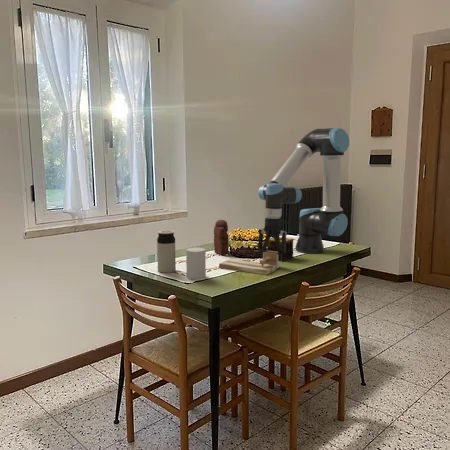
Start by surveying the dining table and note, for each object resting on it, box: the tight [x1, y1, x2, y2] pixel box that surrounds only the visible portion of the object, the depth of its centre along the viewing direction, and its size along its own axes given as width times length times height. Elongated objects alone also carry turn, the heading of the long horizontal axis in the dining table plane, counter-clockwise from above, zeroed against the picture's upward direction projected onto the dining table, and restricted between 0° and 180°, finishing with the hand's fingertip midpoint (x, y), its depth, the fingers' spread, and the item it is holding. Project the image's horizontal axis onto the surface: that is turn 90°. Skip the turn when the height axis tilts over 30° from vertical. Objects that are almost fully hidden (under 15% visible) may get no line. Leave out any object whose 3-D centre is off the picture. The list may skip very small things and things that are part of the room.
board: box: [218, 258, 278, 276], centre depth 209 cm, size 11×24×2 cm, turn 61°
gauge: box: [259, 250, 278, 267], centre depth 208 cm, size 14×6×7 cm, turn 151°
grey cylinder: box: [185, 247, 207, 281], centre depth 194 cm, size 8×8×12 cm
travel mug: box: [156, 229, 177, 274], centre depth 204 cm, size 8×8×18 cm
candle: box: [266, 236, 294, 262], centre depth 229 cm, size 10×10×10 cm
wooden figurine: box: [213, 219, 230, 257], centre depth 239 cm, size 12×6×18 cm, turn 25°
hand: (271, 266), depth 212 cm, fingers closed on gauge, 6 cm apart
